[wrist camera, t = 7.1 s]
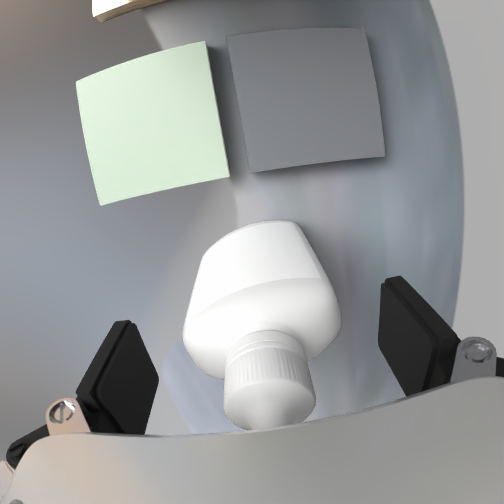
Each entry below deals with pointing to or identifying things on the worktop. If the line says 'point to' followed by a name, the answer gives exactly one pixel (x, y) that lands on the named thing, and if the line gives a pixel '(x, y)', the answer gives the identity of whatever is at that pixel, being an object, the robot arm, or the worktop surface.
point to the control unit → (118, 7)
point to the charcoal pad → (306, 96)
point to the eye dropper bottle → (262, 322)
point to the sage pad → (153, 124)
